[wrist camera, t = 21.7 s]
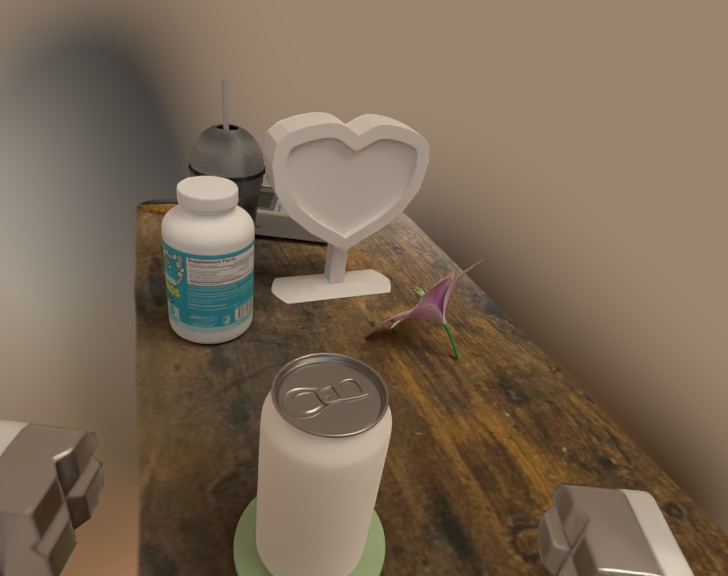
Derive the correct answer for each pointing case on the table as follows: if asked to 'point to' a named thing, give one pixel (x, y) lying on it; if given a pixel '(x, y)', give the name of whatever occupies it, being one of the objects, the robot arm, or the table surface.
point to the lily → (433, 304)
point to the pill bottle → (208, 261)
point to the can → (320, 464)
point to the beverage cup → (230, 158)
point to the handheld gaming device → (278, 219)
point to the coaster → (255, 572)
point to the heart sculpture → (342, 191)
